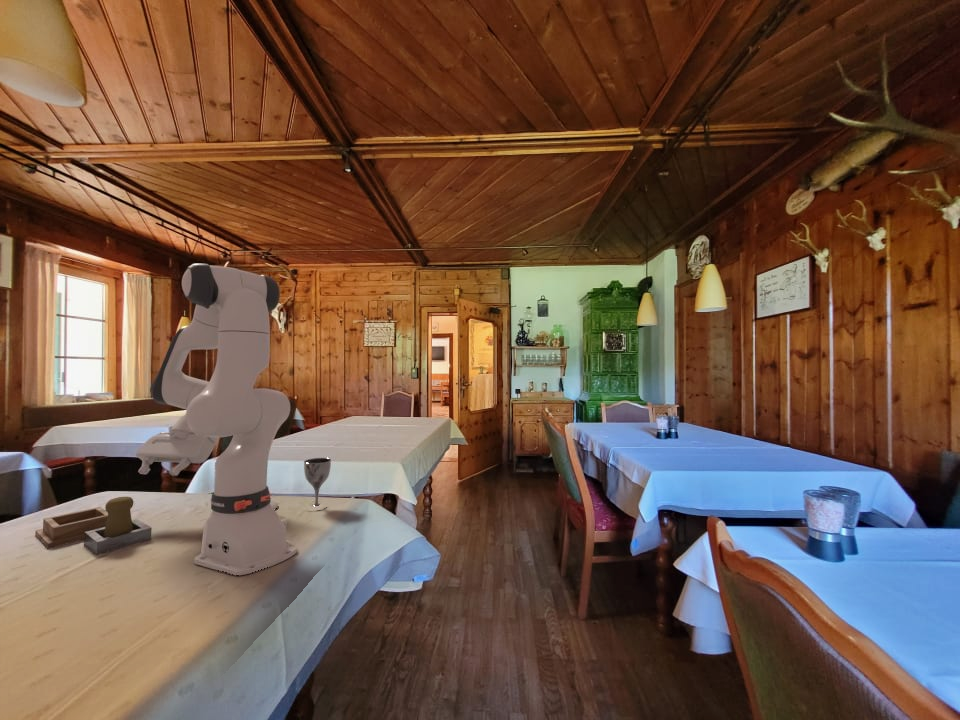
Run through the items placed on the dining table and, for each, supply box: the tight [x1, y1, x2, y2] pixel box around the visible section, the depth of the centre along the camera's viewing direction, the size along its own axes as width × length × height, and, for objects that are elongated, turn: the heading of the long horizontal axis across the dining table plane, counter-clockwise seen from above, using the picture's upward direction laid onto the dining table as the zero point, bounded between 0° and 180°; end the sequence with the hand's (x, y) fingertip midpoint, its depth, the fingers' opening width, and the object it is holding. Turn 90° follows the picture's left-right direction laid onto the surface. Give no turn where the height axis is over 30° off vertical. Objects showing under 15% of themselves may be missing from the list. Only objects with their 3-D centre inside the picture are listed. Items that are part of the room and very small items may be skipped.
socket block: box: [83, 519, 152, 556], centre depth 97 cm, size 10×10×3 cm
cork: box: [103, 496, 134, 538], centre depth 97 cm, size 6×6×11 cm
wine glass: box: [303, 457, 332, 507], centre depth 123 cm, size 8×8×15 cm
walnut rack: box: [34, 506, 108, 549], centre depth 103 cm, size 14×13×4 cm
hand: (157, 473), depth 108 cm, fingers open, 8 cm apart
